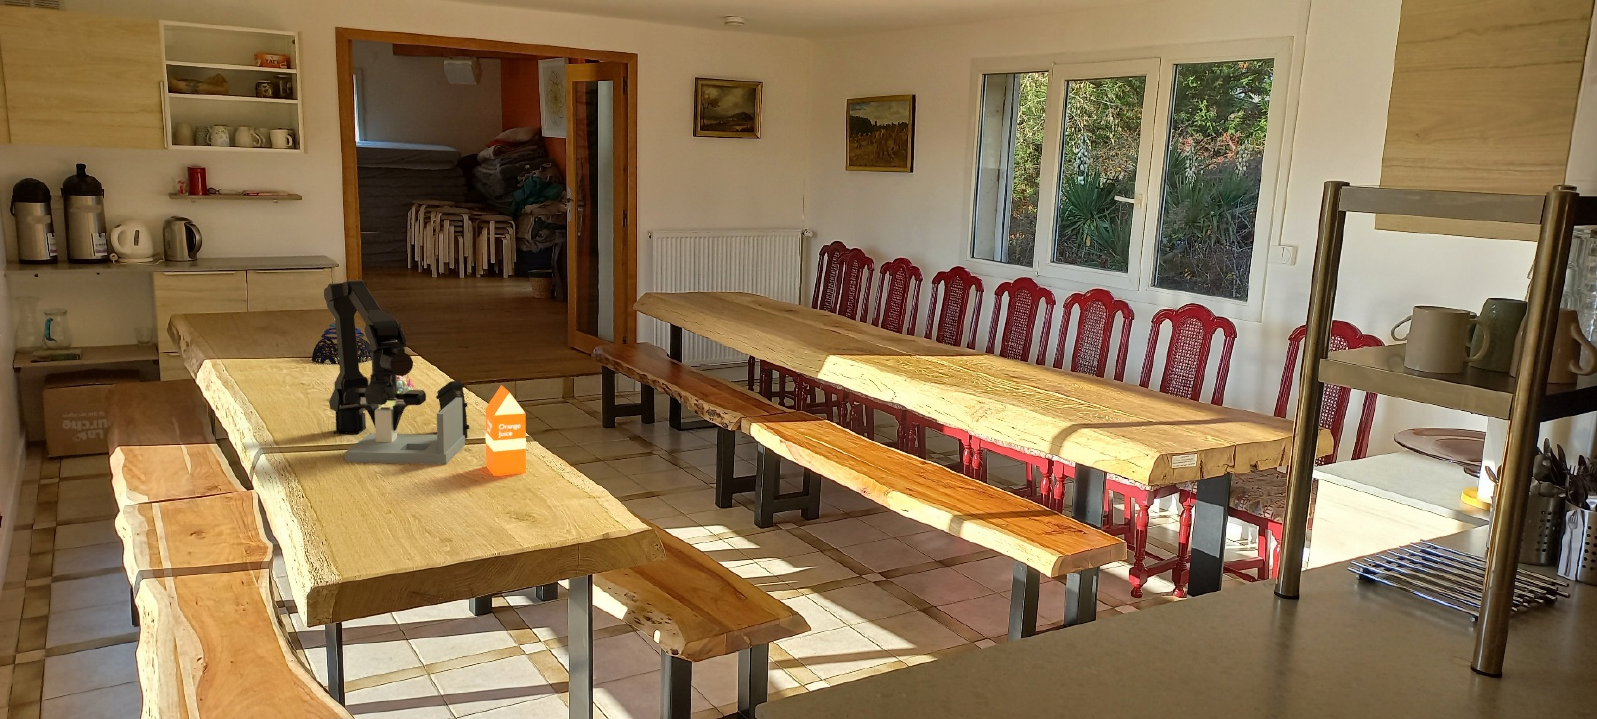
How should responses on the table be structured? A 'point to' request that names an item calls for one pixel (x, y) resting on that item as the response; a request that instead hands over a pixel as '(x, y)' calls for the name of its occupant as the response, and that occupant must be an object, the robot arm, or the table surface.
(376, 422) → the block
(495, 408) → the orange juice
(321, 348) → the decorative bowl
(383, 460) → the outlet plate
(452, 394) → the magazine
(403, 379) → the candy landscape model
